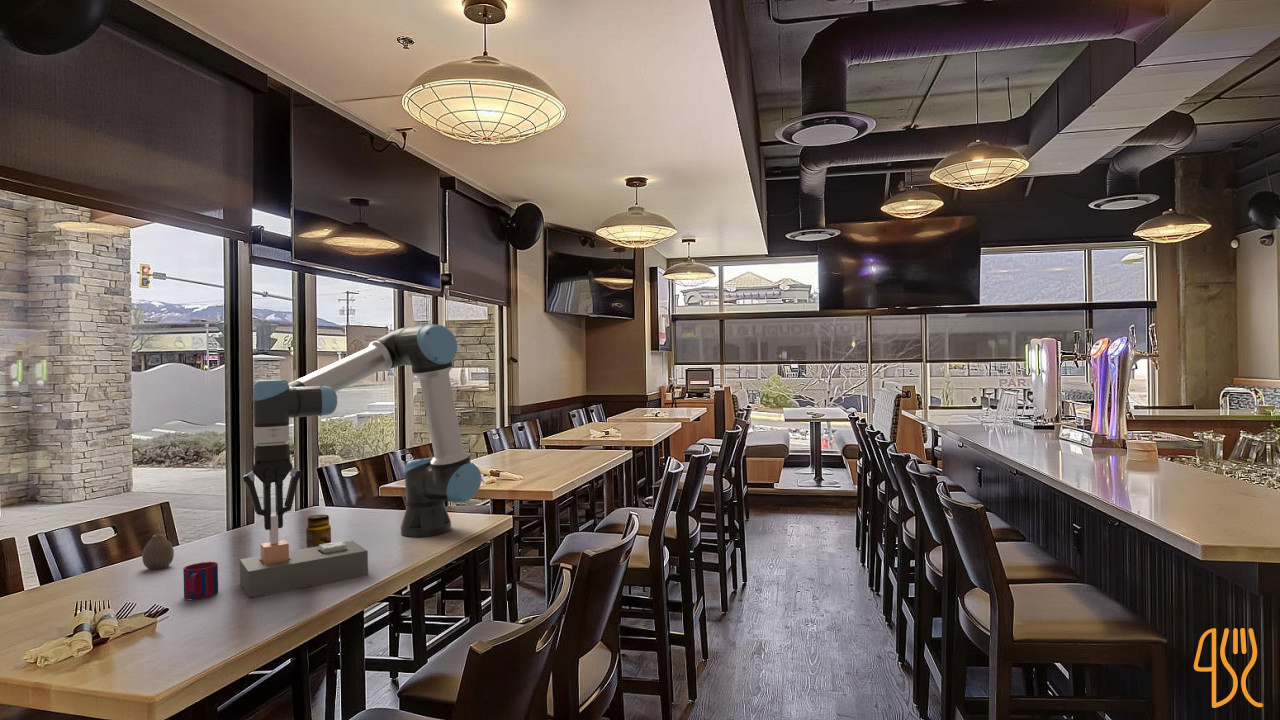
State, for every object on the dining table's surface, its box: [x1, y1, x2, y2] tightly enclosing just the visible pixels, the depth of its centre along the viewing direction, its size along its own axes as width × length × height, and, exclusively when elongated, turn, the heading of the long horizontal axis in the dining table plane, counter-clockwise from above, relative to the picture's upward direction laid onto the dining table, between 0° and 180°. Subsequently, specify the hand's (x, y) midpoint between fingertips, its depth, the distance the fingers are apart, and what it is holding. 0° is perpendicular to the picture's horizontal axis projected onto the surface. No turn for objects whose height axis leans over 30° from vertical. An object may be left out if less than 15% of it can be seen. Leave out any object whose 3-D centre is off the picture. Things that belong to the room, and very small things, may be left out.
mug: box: [182, 561, 219, 601], centre depth 159 cm, size 7×10×7 cm
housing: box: [239, 540, 369, 599], centre depth 170 cm, size 26×14×6 cm, turn 127°
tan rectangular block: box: [259, 539, 290, 565], centre depth 167 cm, size 5×5×6 cm
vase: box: [141, 533, 175, 571], centre depth 186 cm, size 7×7×9 cm
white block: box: [319, 540, 346, 554], centre depth 174 cm, size 5×5×6 cm
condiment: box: [305, 514, 332, 548], centre depth 188 cm, size 7×8×12 cm
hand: (274, 542), depth 167 cm, fingers closed
